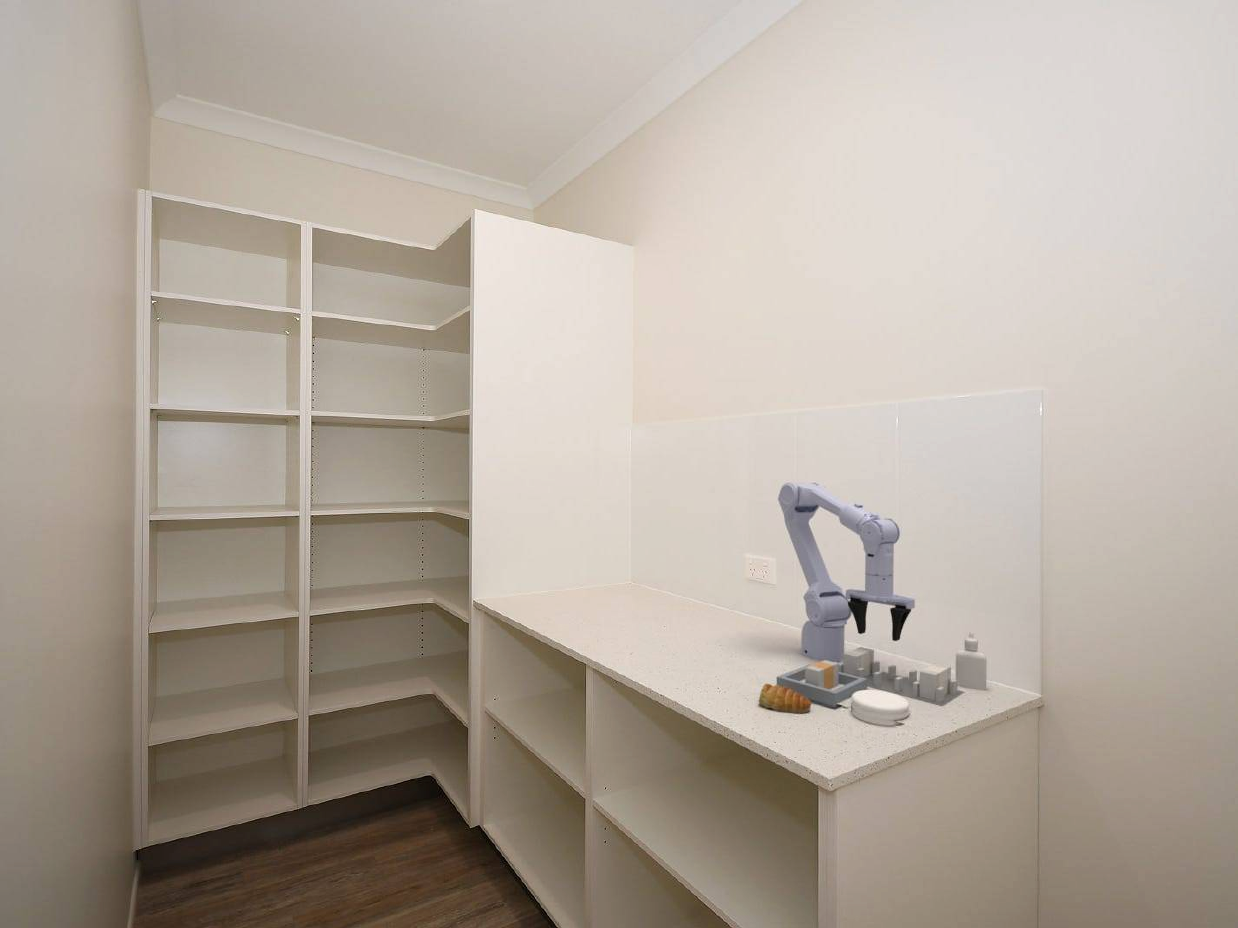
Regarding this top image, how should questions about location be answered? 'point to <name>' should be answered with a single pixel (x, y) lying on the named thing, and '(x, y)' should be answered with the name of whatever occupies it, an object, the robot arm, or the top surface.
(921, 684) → the block
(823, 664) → the orange fuse
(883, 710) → the white round tin
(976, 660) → the eye dropper bottle
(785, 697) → the pastry
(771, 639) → the top surface
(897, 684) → the panel
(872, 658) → the ivory fuse left
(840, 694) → the tray
